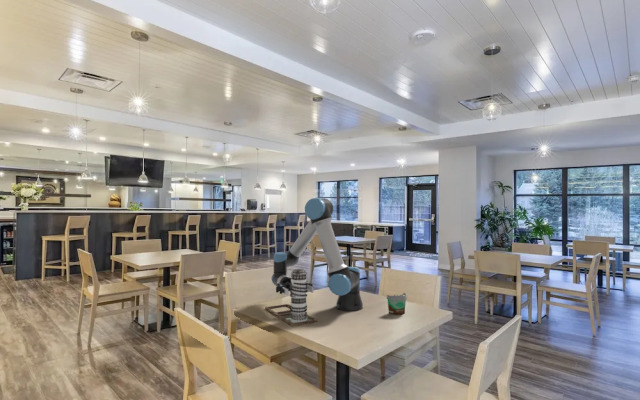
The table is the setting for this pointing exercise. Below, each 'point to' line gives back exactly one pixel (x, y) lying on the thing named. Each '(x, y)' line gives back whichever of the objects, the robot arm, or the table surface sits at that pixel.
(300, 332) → the table surface
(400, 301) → the food container
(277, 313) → the brown flat rectangular frame
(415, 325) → the table surface
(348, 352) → the table surface
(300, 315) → the decorative candle
